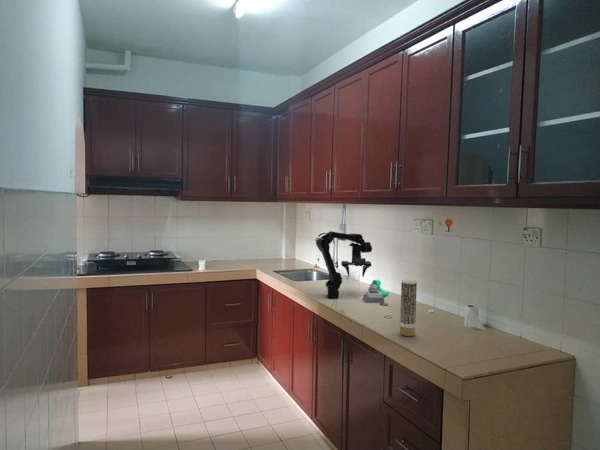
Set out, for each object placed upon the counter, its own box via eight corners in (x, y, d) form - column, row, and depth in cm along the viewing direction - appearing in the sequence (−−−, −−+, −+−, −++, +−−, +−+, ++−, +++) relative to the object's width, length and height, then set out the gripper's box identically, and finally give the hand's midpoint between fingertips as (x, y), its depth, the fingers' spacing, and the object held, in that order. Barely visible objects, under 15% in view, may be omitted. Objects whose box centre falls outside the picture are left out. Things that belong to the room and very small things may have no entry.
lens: (370, 297, 246) (370, 285, 245) (368, 295, 251) (369, 284, 250) (378, 297, 246) (378, 285, 246) (376, 295, 251) (376, 284, 250)
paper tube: (417, 334, 188) (419, 281, 186) (410, 337, 183) (411, 283, 182) (404, 330, 193) (406, 279, 191) (397, 334, 188) (398, 280, 186)
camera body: (366, 302, 244) (366, 293, 244) (363, 299, 252) (363, 290, 252) (384, 302, 245) (384, 293, 245) (380, 299, 253) (380, 290, 253)
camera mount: (389, 296, 263) (389, 280, 262) (381, 297, 258) (381, 281, 258) (375, 292, 272) (376, 277, 272) (367, 293, 268) (368, 278, 267)
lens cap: (377, 305, 240) (377, 303, 240) (382, 303, 244) (382, 302, 244) (385, 306, 237) (385, 305, 236) (389, 305, 240) (389, 303, 240)
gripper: (344, 254, 252) (344, 279, 253) (373, 254, 254) (373, 279, 255) (341, 252, 263) (340, 276, 264) (369, 252, 265) (368, 276, 266)
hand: (355, 276), depth 262 cm, fingers open, 9 cm apart
